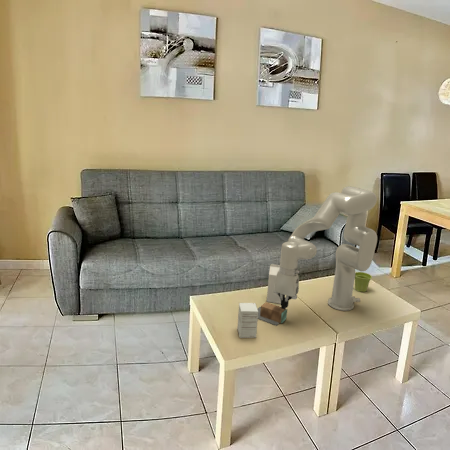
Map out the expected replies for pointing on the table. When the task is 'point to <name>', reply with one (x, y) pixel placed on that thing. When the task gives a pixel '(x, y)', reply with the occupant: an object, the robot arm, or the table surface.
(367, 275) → the plant pot
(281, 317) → the walnut block
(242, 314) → the supplement box
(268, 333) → the table surface
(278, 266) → the milk carton
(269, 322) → the mat
